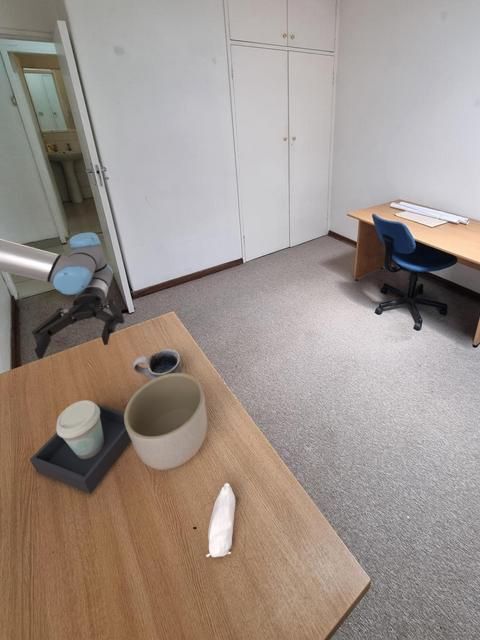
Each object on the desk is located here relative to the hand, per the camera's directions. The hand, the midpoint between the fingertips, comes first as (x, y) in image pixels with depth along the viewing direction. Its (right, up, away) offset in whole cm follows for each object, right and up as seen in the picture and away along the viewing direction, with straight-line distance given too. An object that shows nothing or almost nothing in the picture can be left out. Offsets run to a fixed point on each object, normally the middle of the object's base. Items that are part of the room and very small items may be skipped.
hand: (72, 347), depth 77 cm
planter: (+23, -25, +4) cm, 35 cm away
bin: (+3, -26, +2) cm, 26 cm away
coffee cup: (+3, -25, +2) cm, 26 cm away
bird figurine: (+39, -33, -12) cm, 52 cm away
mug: (+12, -17, +21) cm, 30 cm away
